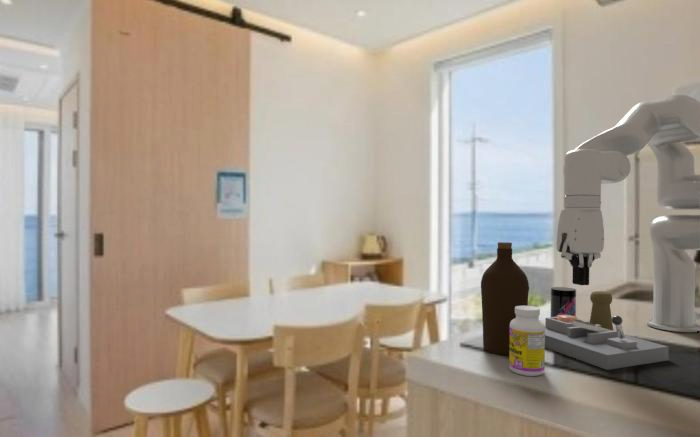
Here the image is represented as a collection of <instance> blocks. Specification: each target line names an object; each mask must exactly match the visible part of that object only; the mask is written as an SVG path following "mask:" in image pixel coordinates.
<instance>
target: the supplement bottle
mask: <svg viewBox="0 0 700 437" xmlns="http://www.w3.org/2000/svg"><path fill="white" fill-rule="evenodd" d="M515 314H516V318H515V319H513V320H511V322H510V343H509V355H508V357H509V359H508V360H509V361H508V362H509V363H508V364H509V366H508V367H509V370H510V371H511V372H513V373H515V374H517V375H520V376H524V377H525V376H526V377H537V376H541V375H543V374H544V372H545V367H546V365H545V364H546V362H545V361H546V360H545V358H546V357H545V356H546V355H545V354H546V350H545V349H546V348H545V324H544V322H542V320H540V319H539V318H540V315H541V310H540V307H537V306H534V305H528V306H516V307H515Z"/></svg>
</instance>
